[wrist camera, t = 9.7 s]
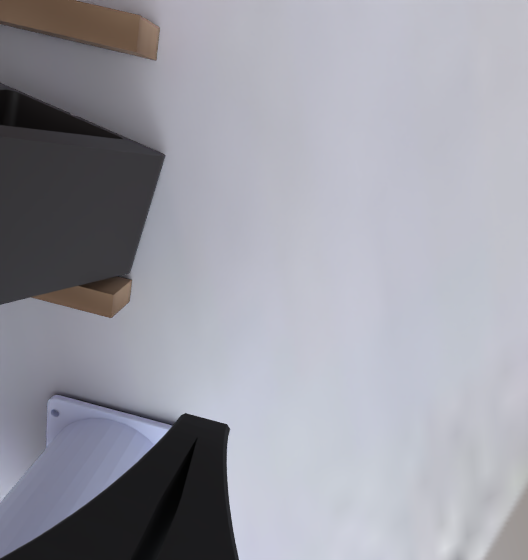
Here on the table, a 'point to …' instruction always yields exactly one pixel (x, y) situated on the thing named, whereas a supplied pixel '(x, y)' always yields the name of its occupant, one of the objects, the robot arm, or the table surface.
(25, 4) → the walnut bracket
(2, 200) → the phone stand
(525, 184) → the table surface
